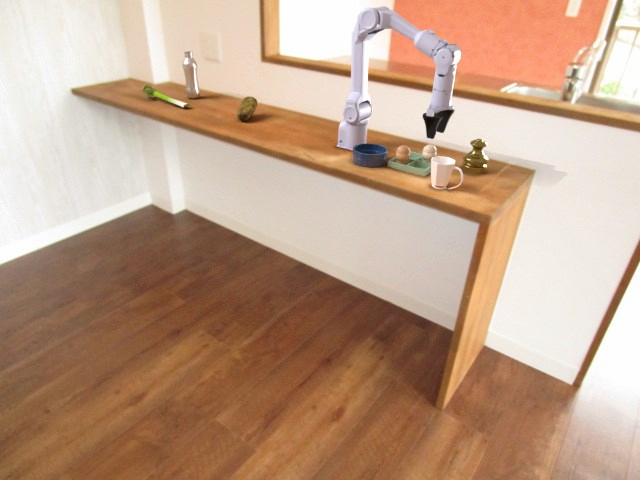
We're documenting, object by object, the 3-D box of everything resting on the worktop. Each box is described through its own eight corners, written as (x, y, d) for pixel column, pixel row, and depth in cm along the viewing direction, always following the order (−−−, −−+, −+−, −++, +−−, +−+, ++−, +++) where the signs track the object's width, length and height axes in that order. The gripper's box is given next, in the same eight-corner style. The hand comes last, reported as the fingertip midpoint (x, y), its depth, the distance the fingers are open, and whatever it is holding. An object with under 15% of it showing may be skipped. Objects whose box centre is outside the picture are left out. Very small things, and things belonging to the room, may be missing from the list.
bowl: (345, 163, 146) (346, 149, 144) (363, 154, 154) (364, 140, 151) (375, 171, 140) (377, 157, 138) (392, 161, 148) (394, 148, 146)
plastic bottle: (203, 97, 214) (199, 51, 204) (193, 100, 209) (188, 53, 199) (194, 95, 217) (188, 50, 207) (183, 98, 212) (177, 52, 202)
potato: (228, 120, 183) (227, 100, 179) (248, 113, 193) (247, 94, 189) (245, 123, 180) (244, 103, 176) (264, 116, 190) (263, 96, 186)
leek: (180, 114, 195) (139, 96, 210) (193, 113, 200) (152, 96, 215) (181, 100, 192) (138, 83, 207) (194, 99, 198) (152, 83, 212)
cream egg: (418, 165, 145) (421, 144, 142) (424, 161, 148) (427, 141, 145) (431, 168, 143) (434, 147, 140) (436, 164, 146) (439, 144, 143)
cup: (433, 180, 136) (437, 154, 132) (465, 189, 130) (470, 162, 126) (421, 187, 131) (426, 160, 127) (454, 197, 126) (459, 169, 122)
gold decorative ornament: (489, 170, 144) (496, 139, 139) (478, 177, 139) (485, 145, 134) (467, 164, 148) (473, 134, 143) (456, 170, 143) (462, 139, 138)
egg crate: (387, 167, 144) (387, 160, 142) (405, 156, 153) (406, 150, 152) (424, 177, 137) (425, 170, 136) (441, 165, 146) (442, 158, 145)
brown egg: (392, 166, 144) (394, 145, 140) (398, 162, 147) (400, 142, 143) (404, 169, 142) (407, 148, 138) (410, 165, 145) (413, 145, 141)
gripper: (446, 96, 126) (438, 143, 133) (464, 87, 137) (456, 132, 144) (422, 92, 130) (416, 138, 137) (442, 84, 140) (435, 127, 147)
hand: (435, 135), depth 140 cm, fingers open, 7 cm apart
